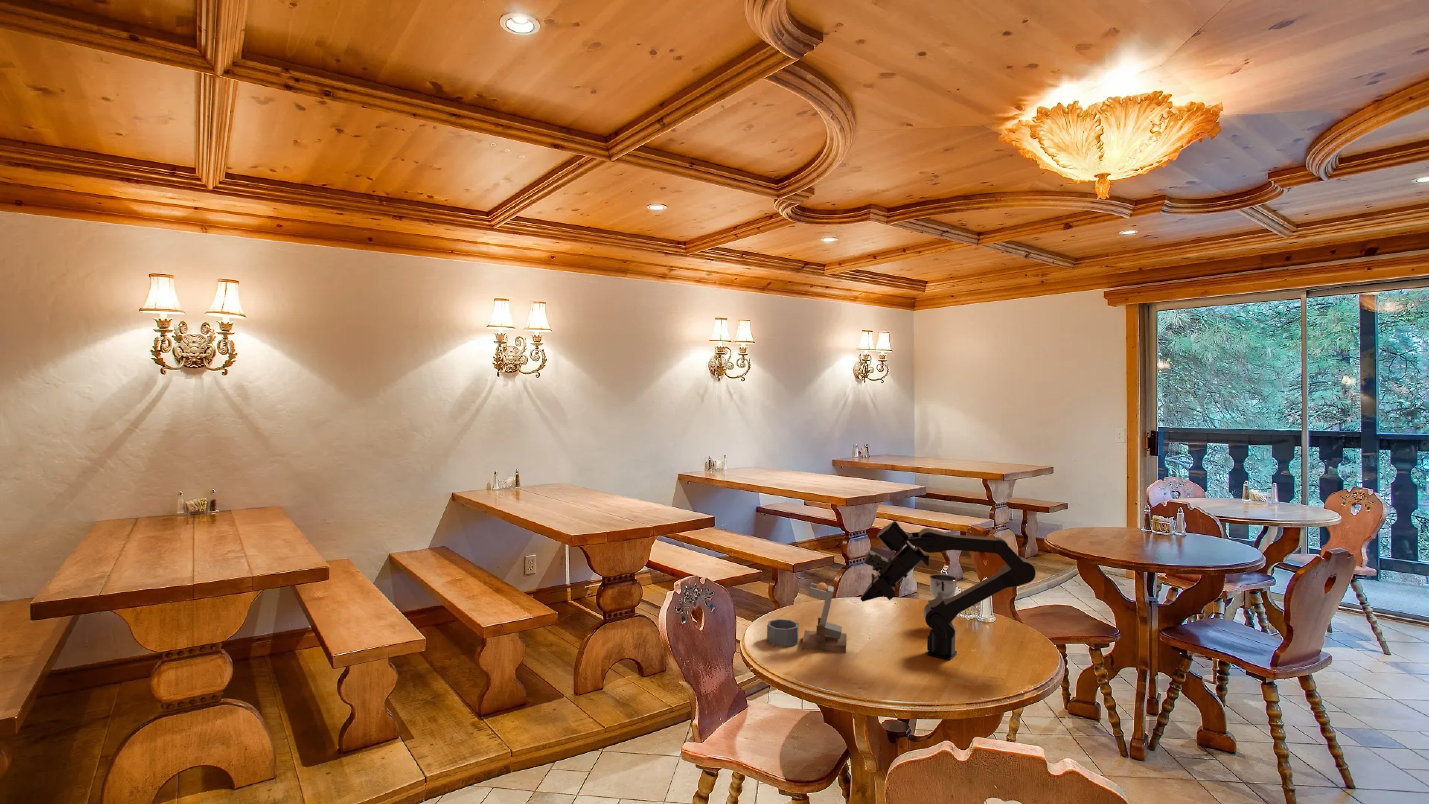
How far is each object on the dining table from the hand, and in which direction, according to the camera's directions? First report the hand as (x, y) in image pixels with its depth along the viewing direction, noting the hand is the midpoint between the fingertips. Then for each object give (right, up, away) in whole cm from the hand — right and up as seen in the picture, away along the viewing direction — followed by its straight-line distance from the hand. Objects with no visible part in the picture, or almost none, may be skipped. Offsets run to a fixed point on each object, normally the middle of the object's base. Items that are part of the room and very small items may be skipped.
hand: (861, 600), depth 201 cm
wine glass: (+29, -14, +20) cm, 38 cm away
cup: (-22, -13, +5) cm, 26 cm away
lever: (-11, -10, +2) cm, 15 cm away
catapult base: (-11, -13, +2) cm, 17 cm away
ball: (-11, +3, +2) cm, 11 cm away
